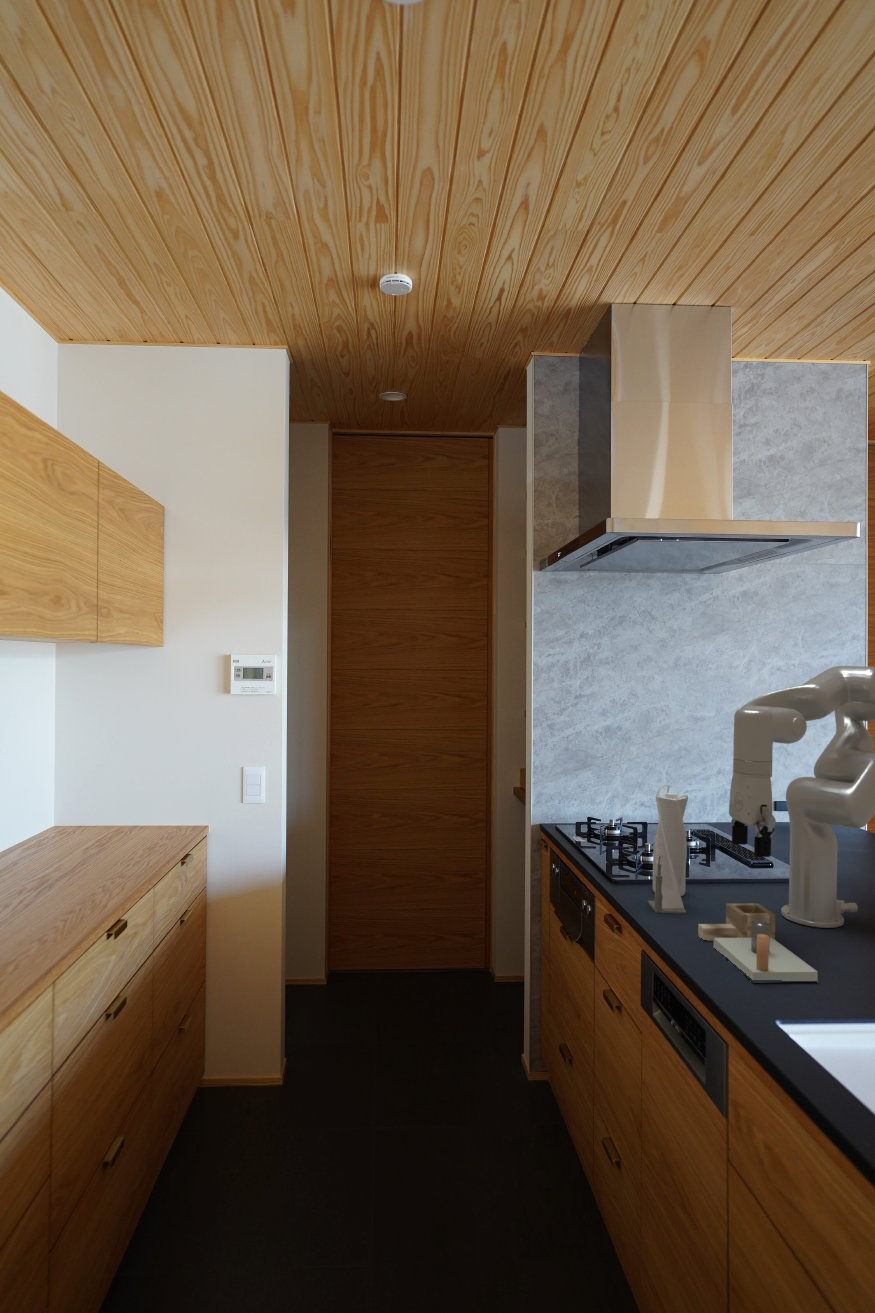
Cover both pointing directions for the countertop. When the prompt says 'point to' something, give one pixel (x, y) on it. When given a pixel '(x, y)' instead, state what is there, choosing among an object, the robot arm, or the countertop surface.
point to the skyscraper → (670, 853)
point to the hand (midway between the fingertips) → (750, 850)
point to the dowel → (762, 952)
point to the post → (758, 932)
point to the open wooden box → (738, 922)
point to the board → (780, 960)
